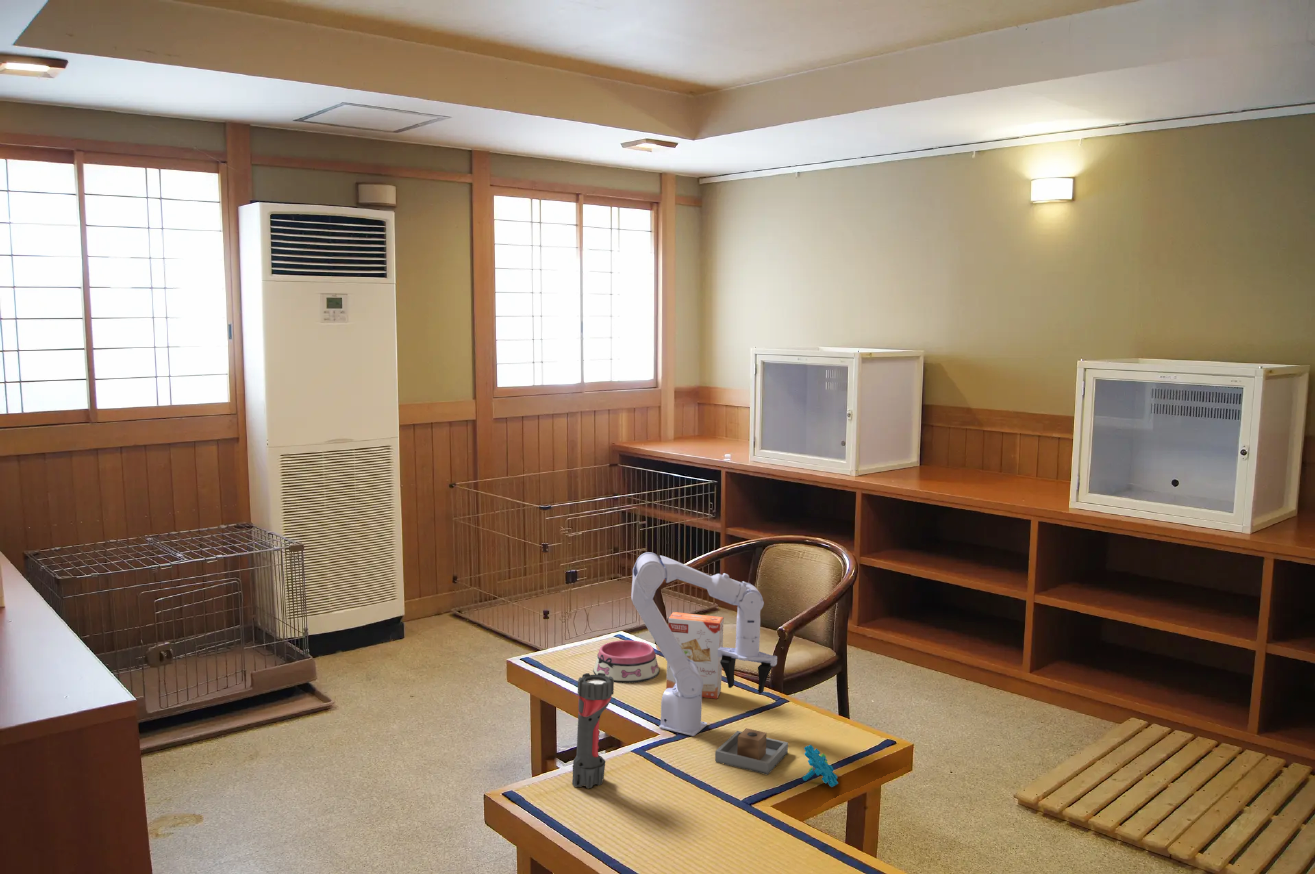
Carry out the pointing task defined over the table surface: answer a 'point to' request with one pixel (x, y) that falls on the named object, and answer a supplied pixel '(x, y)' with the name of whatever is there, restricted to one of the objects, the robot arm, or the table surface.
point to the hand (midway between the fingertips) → (745, 689)
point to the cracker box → (699, 648)
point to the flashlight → (590, 728)
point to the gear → (819, 766)
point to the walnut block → (752, 744)
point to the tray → (765, 765)
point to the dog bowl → (627, 661)
